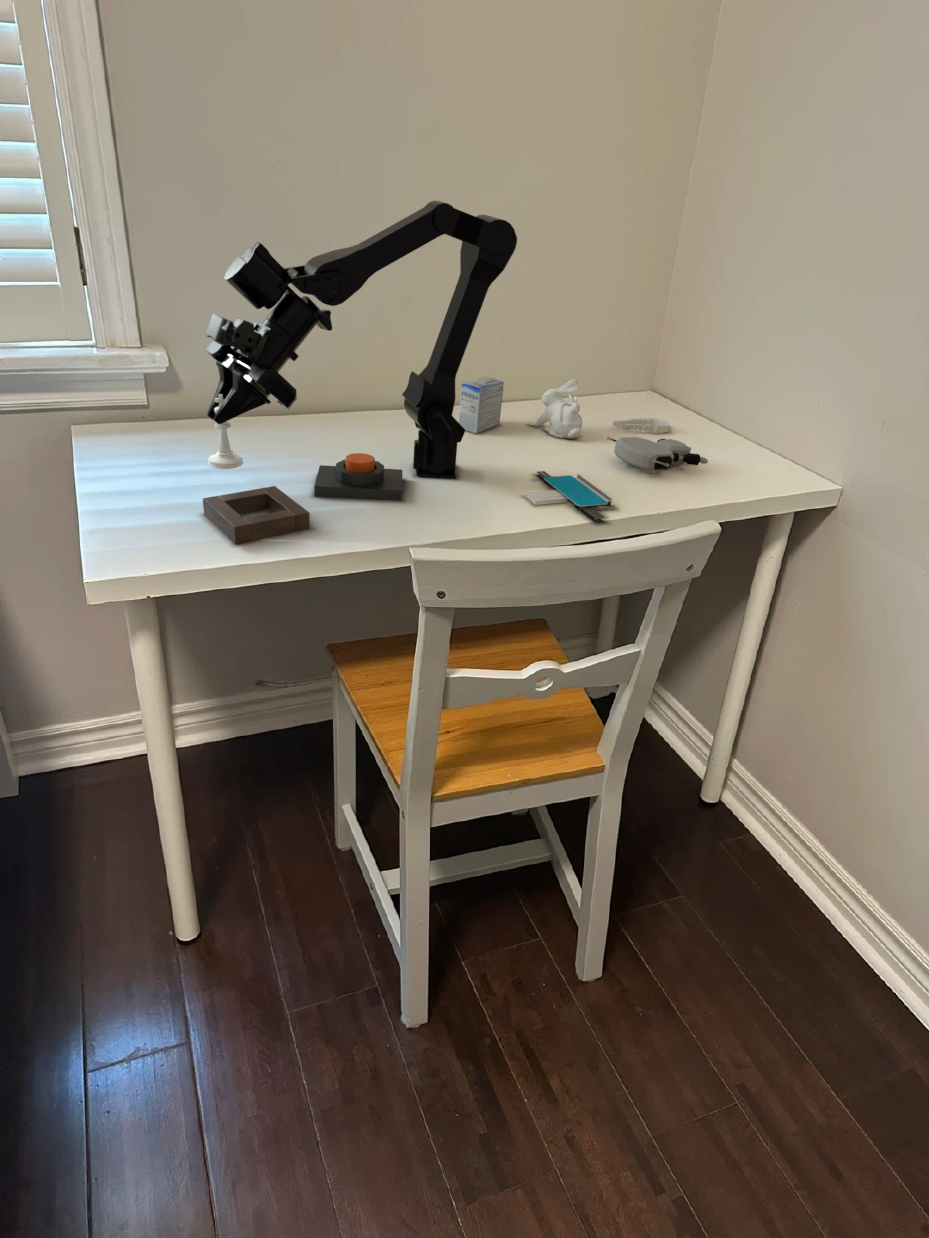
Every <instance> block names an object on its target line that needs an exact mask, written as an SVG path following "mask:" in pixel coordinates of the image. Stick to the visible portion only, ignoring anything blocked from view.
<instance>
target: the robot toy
mask: <svg viewBox="0 0 929 1238" xmlns="http://www.w3.org/2000/svg"><path fill="white" fill-rule="evenodd" d="M606 439H607V440H608V441H612V442H615V445H614V450H613V452H614V454H615V456H616V457H617V458H618V459H620V460H621V461H622V462H624V463H625V464H627V465H629V466H633V467H635V468H638V469H639V470H641V472H642V473H644V474H648V475H653V474H656V473H658V472H659V471H668V470H669V469H671V467H674V468H679V467H681V465H683V464H686V465H689V466H699V465H700V464H703V465H704V464H708V462H709V460H708V459H707V458H706V457H703V456H701V455H700V454H699V453H692V452H691V451H692V447H691V446H687V444H686V443H684V442H682V441H680V440H676V439H673V438H660V439H658V440H657V441H656V442H655V441H652V440H650V439H646V438H643V437H638V436H623V437H622V436H621V437H619V438H617V439H614V438H612V437H609V436H607V437H606Z"/></svg>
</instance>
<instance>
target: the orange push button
mask: <svg viewBox="0 0 929 1238" xmlns="http://www.w3.org/2000/svg"><path fill="white" fill-rule="evenodd" d="M345 459H346V469H347V470H348V471H352V472H363V473H364V472H371V471H373V470H374V469H375V461H376V458H375V457H374V456H373V455H372V454H369V453H363V452H355V453H350V454H347V455H346V456H345Z"/></svg>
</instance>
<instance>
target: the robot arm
mask: <svg viewBox="0 0 929 1238" xmlns="http://www.w3.org/2000/svg"><path fill="white" fill-rule="evenodd" d="M443 235H447V236H449V237H451V238H452V239H455V240H458V241H461V247H460V251H459V259H460V261H459V262H460V263H459V264H460V268H459V269H460V271H459V276H458V278H457V279H458V280H457V283H456V285H455V287H454V291H453V292H452V293H453V294H452V296H451V298H450V302H449V305H448V308H447V310H446V313H445V315H444V319H443V321H442V324H441V327H440V330H439V333H438V335H437V338H436V342H435V344H434V346H433V350H432V352H431V355H430V358H429V361H428V363H427V365H426V366H425V367H424V368H423V369H422V371H421V372H420V373H419V374H418V373H416V372H415V371H411V372H410V374H409V378H408V382H407V386H406V388H405V390H404V391H403V392H402V394H401V395H402V397H404V401H403V407H404V411H405V413H406V415H407V416H409V418H410V419H412V420H413V422H414V426H415V427H416V428H417V429H418V433H417V439H414V440H413V456H412V457H413V458H412V459H413V460H412V465H413V466H412V467H413V470H415V475H416V477H423V478H441V479H457V470H456V469H457V468H456V466H457V454H458V443H461V442H462V440H463V437H464V435H465V433H466V430H465V429H464V428H463V427H462V426H461V425H460V424H459V421H458V420H457V419H456V418H455V417H454V416H453V413H454V408H455V403H456V377H457V374H458V372H459V369H460V366H461V363H462V361H463V358H464V355H465V354H466V353H465V352H466V350H467V347H468V344H469V342H470V340H471V336H472V334H473V331H474V328H475V325H476V323H477V320H478V318H479V316H480V313H481V309H482V307H483V304H484V302H485V299H486V297H487V294H488V292H489V289H490V287H491V285H492V284H493V283H494V282H495V281H496V280H497V278H498V277H500V275H501V274H502V273H503V271H504V270H505V269H506V268H507V266H508V264H509V262H510V260H511V259H512V256H513V255H514V253H515V250H516V249H517V244H518V235H517V234H516V230H515V228H514V226H513V225H512V224H511V223H510V222H509V221H507V220H505V219H502V218H500V217H499V218H498V217H495V216H492V215H488V214H478V215H476V216H475V215H472V214H470V213H467V212H465V211H463V210H460V209H457V208H456V207H453V205H451V204H450V203H447V202H444V201H441V200H434V199H433V200H432V201H429V202H428V203H426V205H425V206H423V207H421V208H420V209H418V210H417V211H414V212H413V213H411V214H409V215H407V216H405V217H404V218H403V219H401V220H399V221H397V222H395V223H393V224H392V225H390V226H388V227H386V228H384V229H383V230H381V231H379V232H377V233H376V234H374V235H372V236H370V237H368V238H366V239H365V240H363V241H361V242H360V243H358V244H355V245H352V246H349V247H343V248H339V249H338V248H337V249H333V250H330V251H328V252H325V253H322V254H319V255H315V256H313V257H311V258H310V259H309V260H307V262H306V263H305V264H303V265H296V266H290V267H283V266H282V265H281V264H280V263H279V262H278V261H277V259H275V258H274V257H273V255H272V254H271V253H270V251H269V249H267V248H266V247H265V246H264V244H263V243H262V242H260V241H256V242H255V244H254V245H253V246H251V247H250V248H248V249H247V250H245V251H244V252H242V254H241V255H238V256H237V257H236V258H235V259H234V260H233V261H232V262H231V264H230V266H229V267H228V268H227V270H226V272H225V273H224V280H225V281H226V282H227V283H228V284H229V285H230V286H231V287H232V288H233V289H234V290H236V292H238V293H239V294H240V295H241V296H242V297H243V298H244V299H245V300H246V301H247V302H248V303H249V304H251V306H253V307H254V308H255V309H256V310H260V309H262V308H265V309H266V310H270V309H272V308H273V309H272V310H271V312H270V313H269V314H267V316H266V317H265V319H264V320H263V321H262V323H260V322H259V321H253V322H250V321H248V320H246V319H243V318H241V317H238V318H237V319H236V320H235V321H233V320H230V319H228V318H226V317H223V316H220V315H218V314H216V313H212V316H211V318H210V321H209V324H208V327H207V330H206V333H205V336H206V337H207V338H211V339H212V341H211V342H210V344H209V345H208V346H207V347H206V348H205V352H206V353H207V354H208V355H209V356H211V357H212V358H213V359H214V360H215V361H216V362H215V365H216V366H217V368H218V374H219V380H218V383H217V386H216V389H215V392H214V395H213V397H212V399H211V403H210V406H209V408H208V411H207V414H206V415H207V417H208V418H209V419H211V420H212V421H214V422H215V424H216V423H218V424H222V423H224V422H228V421H230V420H232V419H234V418H237V417H239V416H240V415H243V414H245V413H247V412H250V411H252V410H255V409H257V408H259V407H262V406H264V405H270V404H271V403H272V401H271V400H270V399H269V397H270V396H272V397H273V398H275V399H276V402H277V403H278V404H279V405H280V406H282V407H284V408H285V409H287V410H290V409H291V408H292V406H293V405H294V403H295V402H296V401H297V400H298V395H297V388H295V387H294V386H293V385H292V384H291V383H290V382H289V381H288V380H287V379H285V378H284V376H282V374H280V373H279V372H280V371H281V370H282V369H283V367H284V366H285V365H286V363H287V362H288V361H289V360H291V361H293V362H295V361H296V360H297V359H298V358H299V354H298V353H297V352H296V351H297V350H298V349H299V347H300V346H301V344H302V343H303V342H304V341H305V339H306V338H307V337H308V336H309V334H310V333H311V332H312V330H313V329H314V328H315V327H316V326H317V327H318V328H319V329H321V330H325V331H328V332H329V331H332V330H333V323H332V318H331V317H332V312H331V310H329V309H321V308H320V307H319V306H318V305H317V304H316V303H315V302H314V301H313V300H312V299H311V298H310V297H309V296H307V295H311V296H313V297H314V298H315V299H317V300H318V301H319V302H320V303H322V304H323V305H327V306H331V307H336V306H340V305H342V304H344V303H345V302H346V301H348V300H349V299H350V298H351V297H352V296H353V295H355V293H357V292H358V291H360V290H361V289H362V287H363V286H364V285H365V284H366V282H367V281H368V280H369V279H370V278H371V277H372V276H373V275H375V274H376V273H377V272H379V271H381V270H383V269H384V268H386V267H387V266H389V265H392V264H393V263H395V262H397V261H399V260H400V259H401V258H403V257H406V256H407V255H409V254H410V253H412V252H414V251H416V250H418V249H420V248H422V247H423V246H425V245H427V244H429V243H430V242H432V241H434V240H435V239H437V238H439V237H441V236H443ZM289 285H291V286H293V287H294V288H295V289H296V290H298V292H300V293H302V294H305V295H304V296H301V297H300V295H298V294H297V293H296V292H295V291H294V290H293V289H292V288H291V287H290V286H289ZM219 394H223V399H225V400H224V402H223V403H222V405H221V406H220V408H219V410H218V411H217V413H215V411H214V408H215V407H218V406H219V402H215V398H219V397H218V395H219Z"/></svg>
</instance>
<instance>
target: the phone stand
mask: <svg viewBox="0 0 929 1238" xmlns="http://www.w3.org/2000/svg"><path fill="white" fill-rule="evenodd" d="M536 473H537V474H535V476H536V477H537V478H538V479H539V481H541V482H542V483H543V484H545V485H546V486H548V487H549V490H537V491H526V492H525V495H524V497H525V498H526V499H527V500H528V501H530V502H531V503H532V504H534V505H535V506H540V505H550V504H552V505H553V504H561V503H562V504H563V503H568V504H569V505H570V506H572V507H574V508H575V509H576V510H577V511H578V512H580V513H581V514H582V515H584V516H585V517H586V518H587V519H589V520H591V521H592V522H593V523H595V524H597V523H598V524H599V523H604V522H605V521H604V520H602V519H606V517H605V516H604V515H603V514H602V513H600V512H599V511H607V510H608V511H609V510H616V506H615V505H612V502H613V498H612V497H610V496H609V495H607V494H606V493H605V492H603V491H602V490H601V489H600V488H598V487H596V486H595V485H593V483H591V482H589V481H588V480H587V479H586V478H584V477H583V476H581V475H580V474H578V473H577V475H576V476H575V477H574V476H573V475H570V474H569V475H556V476H554V475H553V476H551V474H549V473H547V471H545V470H541V471H540V470H539V471H536ZM533 480H536V479H533Z"/></svg>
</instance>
